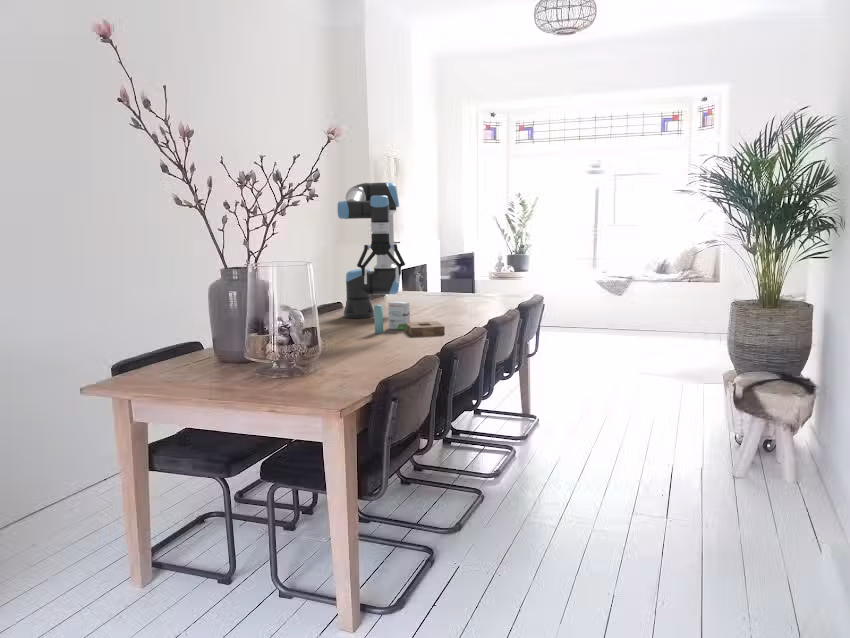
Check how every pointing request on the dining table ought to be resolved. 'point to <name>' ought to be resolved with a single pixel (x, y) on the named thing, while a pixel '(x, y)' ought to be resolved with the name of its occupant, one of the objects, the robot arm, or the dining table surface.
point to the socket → (425, 328)
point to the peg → (378, 318)
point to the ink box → (398, 315)
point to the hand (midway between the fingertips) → (381, 283)
